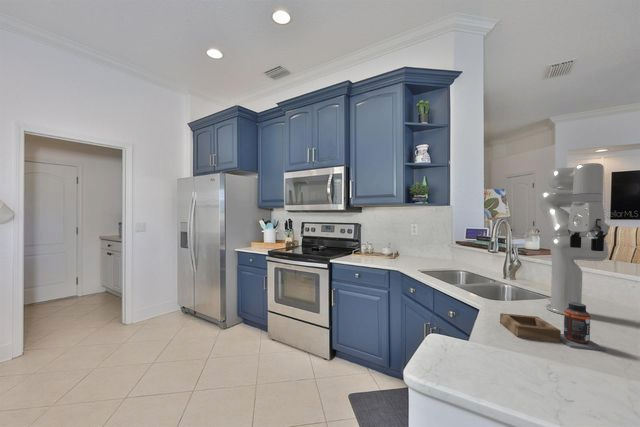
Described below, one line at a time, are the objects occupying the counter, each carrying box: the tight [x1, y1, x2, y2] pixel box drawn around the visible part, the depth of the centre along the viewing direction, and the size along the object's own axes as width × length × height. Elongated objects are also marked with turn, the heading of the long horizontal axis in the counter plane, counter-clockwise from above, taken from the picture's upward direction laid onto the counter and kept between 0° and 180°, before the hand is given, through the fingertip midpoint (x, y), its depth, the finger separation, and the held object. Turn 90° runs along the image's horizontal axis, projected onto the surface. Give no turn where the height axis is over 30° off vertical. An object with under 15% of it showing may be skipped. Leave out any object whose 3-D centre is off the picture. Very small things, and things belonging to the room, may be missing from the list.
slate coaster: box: [560, 333, 607, 352], centre depth 85 cm, size 9×9×1 cm
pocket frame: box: [499, 312, 562, 343], centre depth 92 cm, size 12×12×4 cm
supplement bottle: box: [563, 302, 591, 344], centre depth 85 cm, size 6×6×11 cm
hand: (585, 249), depth 94 cm, fingers open, 9 cm apart
